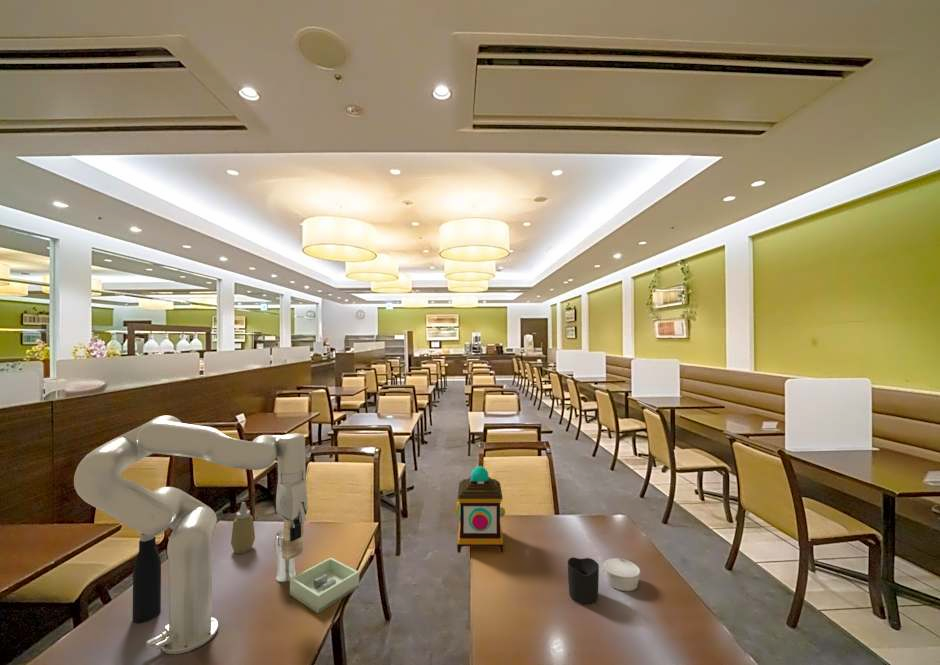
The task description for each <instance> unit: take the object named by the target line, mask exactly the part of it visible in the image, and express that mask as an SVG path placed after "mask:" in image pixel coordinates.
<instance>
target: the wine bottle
mask: <svg viewBox="0 0 940 665" xmlns="http://www.w3.org/2000/svg"><path fill="white" fill-rule="evenodd" d="M156 543H157V542H156V535H152V536H150V535H145V534H143V533H140V538H139V541H138V552H137V555H136V558H135V560H134V565H133V569H132V623H134V624H143V623H144V624H145V623H147V622H150V621H152V620H154V619H155V618H157V617H158V616H159V615H160V613H161V611H162V610H161V609H162V606H161V605H162V560H161V555H160V552H159V550H158V549H157V547H156V546H157V545H156Z"/></svg>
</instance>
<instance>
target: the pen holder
mask: <svg viewBox="0 0 940 665" xmlns="http://www.w3.org/2000/svg"><path fill="white" fill-rule="evenodd" d="M599 566H600V565H599V563H598V562H597V560H594V559H592V558H590V557H584V558H577V557H575V556H574V557H573V556H572V557H569V559H567V578H568V580H567V581H568V584H567V585H568V593H569V596H570V598H571V600H572V601H574V600H575V601H576V602H575V601H574V602H575V603H577V602H578V603H577V604H580V603H582V604H581V605H584V604H590V605H593V604H596V602H597V601H598V600H599V599H598V597H599V573H600V569H599V568H600V567H599ZM592 603H593V604H592Z"/></svg>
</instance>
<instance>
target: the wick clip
mask: <svg viewBox="0 0 940 665" xmlns="http://www.w3.org/2000/svg"><path fill="white" fill-rule="evenodd" d="M335 584H336V580H335V579H332V580H330V581H329V582H327V575H326V574H324V575H322V576H320V577H318V578H316V579H315V580H314V588H315V589H317V588H319V587H321V586H322V585H323V591H324V590H326V589H328V588H329V587H331V586H333V585H335Z"/></svg>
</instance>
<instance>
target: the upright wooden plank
mask: <svg viewBox="0 0 940 665" xmlns="http://www.w3.org/2000/svg"><path fill="white" fill-rule="evenodd" d="M297 519H298V518H296V519H295V521H296V520H297ZM304 526H305V521H304V522H302V525H301V538H299V539H297V540H294V541H290V528H291V519H288V518H287V519H284V518H283V529H284V532H283V552H282V558H283V559H285V560H289V559H291V558H294V557H295V558H296V557H299V556H300V555H303V549H304V532H305V528H304Z"/></svg>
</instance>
